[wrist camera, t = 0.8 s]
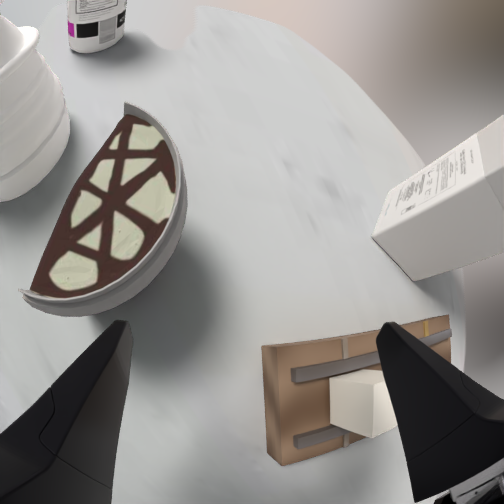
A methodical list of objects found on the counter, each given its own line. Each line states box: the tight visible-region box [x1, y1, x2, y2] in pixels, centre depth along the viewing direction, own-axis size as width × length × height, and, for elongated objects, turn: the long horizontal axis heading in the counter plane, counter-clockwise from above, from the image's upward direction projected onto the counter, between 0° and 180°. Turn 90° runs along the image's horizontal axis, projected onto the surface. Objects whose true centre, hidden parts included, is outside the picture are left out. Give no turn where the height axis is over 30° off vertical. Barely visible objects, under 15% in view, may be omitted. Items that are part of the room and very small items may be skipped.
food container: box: [18, 102, 187, 317], centre depth 16 cm, size 12×6×10 cm, turn 164°
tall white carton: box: [372, 114, 504, 281], centre depth 20 cm, size 9×9×25 cm
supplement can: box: [67, 0, 127, 53], centre depth 18 cm, size 8×8×15 cm
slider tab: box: [329, 369, 398, 438], centre depth 17 cm, size 4×4×5 cm
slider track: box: [262, 315, 452, 466], centre depth 22 cm, size 10×24×4 cm, turn 93°
